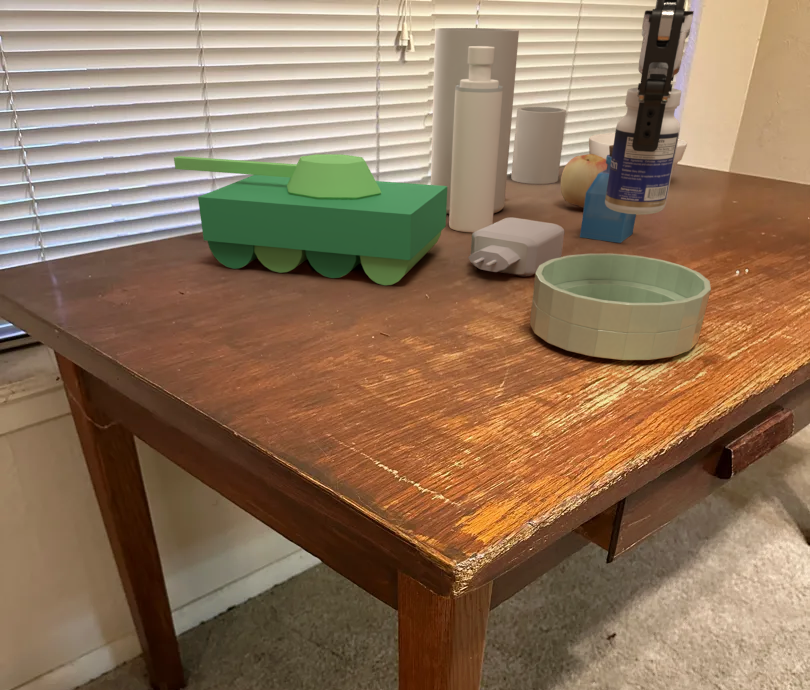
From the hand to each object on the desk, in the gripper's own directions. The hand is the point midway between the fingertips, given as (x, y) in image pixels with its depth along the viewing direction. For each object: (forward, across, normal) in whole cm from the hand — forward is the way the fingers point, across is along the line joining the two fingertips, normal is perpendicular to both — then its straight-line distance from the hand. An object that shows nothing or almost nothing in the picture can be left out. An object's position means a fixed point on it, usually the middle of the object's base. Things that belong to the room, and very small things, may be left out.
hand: (645, 144), depth 70 cm
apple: (+18, +59, +9) cm, 63 cm away
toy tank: (+18, +16, +42) cm, 49 cm away
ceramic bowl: (+18, 0, 0) cm, 18 cm away
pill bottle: (+6, 0, 0) cm, 6 cm away
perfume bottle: (+18, +42, +4) cm, 46 cm away
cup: (+18, +82, +21) cm, 86 cm away
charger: (+18, +19, +15) cm, 30 cm away
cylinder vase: (+18, +52, +28) cm, 62 cm away
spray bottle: (+18, +40, +24) cm, 50 cm away
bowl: (+18, +86, +3) cm, 88 cm away
